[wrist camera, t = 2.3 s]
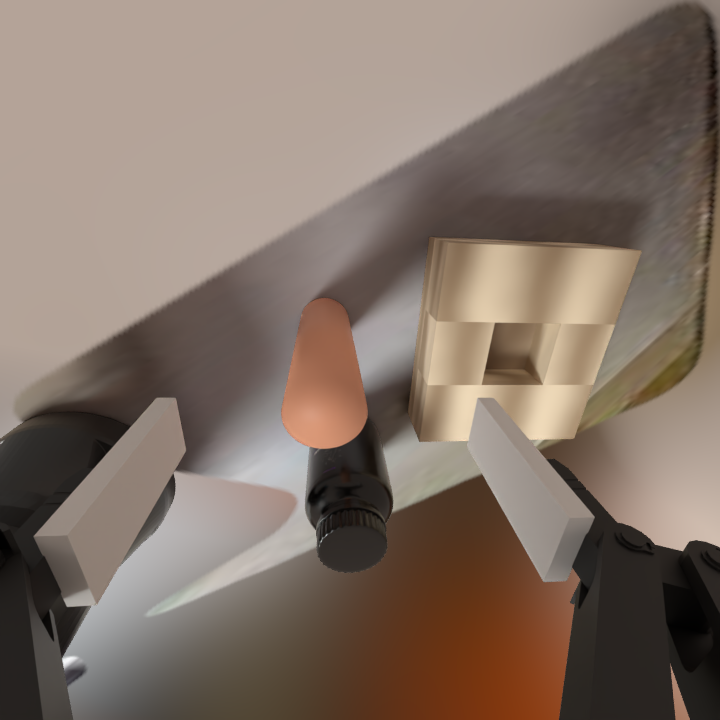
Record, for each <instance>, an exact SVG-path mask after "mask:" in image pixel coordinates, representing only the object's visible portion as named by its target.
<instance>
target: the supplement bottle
mask: <svg viewBox="0 0 720 720" xmlns="http://www.w3.org/2000/svg"><path fill="white" fill-rule="evenodd" d="M392 509H393V495H392V489H391V485H390V480H389V475H388V471H387V466H386V461H385V457H384V452H383V447H382V443H381V438H380V434H379V432H378V429H377V428H376V426H375V425H374V424H373V422H372V421H370V420H369V419H368V418H367V420H366V423H365V425H364V427H363V429H362V430H361V432H360V433H359V434H358V435H357V436H356V437H355V438H354V439H352V440H351V441H350V442H348V443H346V444H344V445H341V446H338V447H335V448H328V449H319V448H313V447H310V448H309V460H308V472H307V484H306V497H305V511H306V515H307V518H308V520H309V522H310V524H311V525H312V526H313V528H314V529H315V530H316V536H317V553H318V557H319V558H320V561H321V562H323V564H324V565H326V566H327V567H328V568H331V569H332V570H335V571H338V572H344V573H347V572H351V573H353V572H360V571H363V570H366V569H368V568H371V567H372V566H374V565H376V564H377V563H378V562H380V561H381V559H382V558H383V557H384V554H385V553H386V549H387V537H386V523H387V521H388V519H389V517H390V515H391V513H392Z"/></svg>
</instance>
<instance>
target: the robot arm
mask: <svg viewBox="0 0 720 720" xmlns="http://www.w3.org/2000/svg"><path fill="white" fill-rule="evenodd" d="M467 448H468V449H469V451H470V453H471V455H472V456H473V458H474V460H475V462H476V464H477V465H478V467H479V469H480V471H481V472H482V474H483V476H484V478H485V479H486V481H487V483H488V484H489V486H490V488H491V490H492V492H493V493H494V495H495V497H496V499H497V501H498V502H499V504H500V505H501V508H502V509H503V511H504V513H505V515H506V516H507V518H508V520H509V522H510V523H511V525H512V527H513V529H514V530H515V532H516V534H517V536H518V538H519V539H520V541H521V543H522V545H523V546H524V548H525V550H526V552H527V553H528V555H529V557H530V559H531V560H532V562H533V564H534V566H535V567H536V569H537V571H538V572H539V575H540V576H541V578H542V580H543V582H552V581H567V579H568V577H569V574H570V572H571V570H572V568H573V569H574V570H575V572H576V573H577V575H578V576H579V578H580V579H581V580H580V582H579V584H578V586H577V588H576V590H575V592H574V595H573V597H572V599H571V601H570V603H572V604H575V607H574V614H573V621H572V628H571V636H570V643H569V651H568V658H567V665H566V672H565V680H564V687H563V694H562V702H561V709H560V716H559V720H675V710H674V700H673V689H672V679H671V668H670V664H671V667H672V670H673V673H674V675H675V678H676V681H677V684H678V687H679V689H680V692H681V695H682V698H683V701H684V704H685V706H686V709H687V712H688V715H689V718H690V720H720V548H719V547H718V546H715V545H712V544H710V543H707V542H703V541H697V540H695V541H690V542H689V543H688V544H687V546H686V548H685V549H684V551H679V550H674V549H670V548H666V547H662V546H658V545H655V544H654V543H653V542H652V541H651V540H650V539H649V538H648V537H647V536H646V535H644V534H643V533H642V532H640V531H638V530H636V529H635V528H633V527H631V526H628V525H625V524H622V523H617V522H616V521H615V520H614V519H613V518H612V516H611V515H610V514H609V513H608V512H607V511H606V510H605V509H604V508H603V507H602V505H601V504H600V503H599V502H598V501H597V500H596V499H595V498H594V497H593V495H592V494H591V493H590V492H589V491H588V490H586V488H585V487H584V486H583V484H582V483H581V482H580V481H578V479H577V478H576V477H575V475H574V474H573V473H572V472H571V471H570V470H569V469H568V468H567V467H565V466H564V465H562V464H561V463H560V462H558V461H557V460H555V459H545V458H544V457H543V455H542V454H541V453H540V452H539V451H538V449H537V448H536V447H535V446H534V445H533V443H532V442H531V441H530V440H529V439H528V438H527V436H526V435H525V434H524V433H523V432H522V431H521V429H520V428H519V427H518V426H517V425H516V423H515V422H514V421H513V420H512V419H511V418H510V416H509V415H508V414H507V413H506V412H505V410H504V409H503V408H502V407H501V406H500V405H499V403H498V402H497V401H496V400H495V399H494V398H477V403H476V407H475V412H474V417H473V421H472V426H471V431H470V435H469V440H468V445H467ZM185 452H186V447H185V442H184V437H183V432H182V426H181V421H180V416H179V411H178V406H177V401H176V398H156V399H155V400H154V401H153V402H152V404H151V405H150V406H149V407H148V408H147V409H146V410H145V411H144V413H143V414H142V415H141V416H140V417H139V418H138V419H137V420H136V422H135V423H134V424H133V425H132V426H131V427H128V426H126V425H124V424H122V423H120V422H117V421H115V420H112V419H109V418H106V417H102V416H98V415H93V414H88V413H79V412H58V413H50V414H45V415H41V416H38V417H34V418H32V419H29V420H27V421H25V422H23V423H22V424H20V425H18V426H17V427H16V428H14V429H13V430H12V431H10V432H9V433H7V434H6V435H5V436H3V437H2V438H1V439H0V720H73V716H72V711H71V705H70V700H69V695H68V689H67V684H66V679H65V673H64V668H63V662H62V657H63V655H64V654H65V652H66V650H67V648H68V647H69V645H70V643H71V641H72V640H73V638H74V636H75V634H76V632H77V631H78V629H79V627H80V625H81V624H82V622H83V620H84V618H85V617H86V615H87V613H88V611H89V610H90V608H91V606H94V605H97V604H98V602H99V600H100V599H101V597H102V595H103V594H104V592H105V590H106V588H107V587H108V585H109V583H110V581H111V580H112V578H113V576H114V574H115V573H116V571H117V569H118V568H119V566H121V564H123V563H124V561H125V560H127V558H129V556H131V554H132V553H133V552H134V551H135V550H136V549H137V548H138V547H139V546H140V545H141V544H142V543H143V542H144V541H145V540H147V539H148V538H149V537H150V536H151V535H152V534H153V533H154V532H155V531H156V530H157V529H158V527H159V526H160V525H161V523H162V521H163V520H164V517H165V516H166V514H167V512H168V510H169V508H170V506H171V504H172V502H173V499H174V495H175V478H174V474H173V473H174V471H175V469H176V467H177V466H178V464H179V462H180V461H181V459H182V457H183V455H184V454H185Z"/></svg>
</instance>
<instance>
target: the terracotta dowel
mask: <svg viewBox="0 0 720 720" xmlns="http://www.w3.org/2000/svg"><path fill="white" fill-rule="evenodd" d="M367 414H368V409H367V403H366V398H365V393H364V389H363V384H362V379H361V374H360V370H359V365H358V360H357V355H356V351H355V346H354V341H353V336H352V332H351V327H350V322H349V317H348V314H347V311H346V310H345V308H344V307H343V306H342V305H341V304H340V303H339V302H337V301H335V300H333V299H330V298H319V299H316V300H313V301H312V302H310V303H309V304H308V305H307V306H306V307H305V308H304V310H303V312H302V314H301V319H300V323H299V328H298V333H297V338H296V342H295V347H294V352H293V357H292V361H291V366H290V371H289V376H288V380H287V385H286V390H285V395H284V400H283V404H282V410H281V416H282V421H283V424H284V426H285V428H286V430H287V432H288V433H289V434H290V435H291V436H292V437H293V438H294V439H295V440H297V441H298V442H300V443H302V444H304V445H306V446H309V447H313V448H319V449H328V448H335V447H338V446H341V445H344V444H346V443H348V442H350V441H351V440H352V439H354V438H355V437H356V436H357V435H358V434H359V433H360V432H361V430H362V429H363V427H364V425H365V423H366V420H367Z"/></svg>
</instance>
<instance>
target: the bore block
mask: <svg viewBox="0 0 720 720" xmlns="http://www.w3.org/2000/svg"><path fill="white" fill-rule="evenodd" d="M641 252H642V251H640V250H633V249H626V248H619V247H613V246H606V245H599V244H583V243H560V242H537V241H514V240H491V239H468V238H445V237H429V243H428V251H427V259H426V267H425V275H424V284H423V292H422V300H421V308H420V317H419V325H418V333H417V341H416V349H415V358H414V366H413V374H412V382H411V391H410V399H409V407H408V414H409V417H410V419H411V422H412V424H413V427H414V429H415V432H416V434H417V437H418V439H419V442H430V441H468V440H469V435H470V431H471V426H472V421H473V417H474V412H475V407H476V403H477V398H494V399H495V400H496V401H497V402H498V403H499V405H500V406H501V407H502V408H503V409H504V410H505V412H506V413H507V414H508V415H509V416H510V418H511V419H512V420H513V421H514V422H515V423H516V425H517V426H518V427H519V428H520V429H521V431H522V432H523V433H524V434H525V435H526V436H527V438H528V439H529V440H533V439H574V437H575V434H576V431H577V428H578V426H579V423H580V420H581V417H582V415H583V412H584V409H585V406H586V404H587V401H588V398H589V395H590V393H591V390H592V387H593V384H594V382H595V379H596V376H597V373H598V371H599V368H600V365H601V362H602V360H603V357H604V354H605V351H606V349H607V346H608V343H609V340H610V338H611V335H612V332H613V329H614V326H615V324H616V321H617V318H618V315H619V313H620V310H621V307H622V304H623V302H624V299H625V296H626V293H627V291H628V288H629V285H630V282H631V280H632V277H633V274H634V271H635V269H636V266H637V263H638V260H639V258H640V255H641Z"/></svg>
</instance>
